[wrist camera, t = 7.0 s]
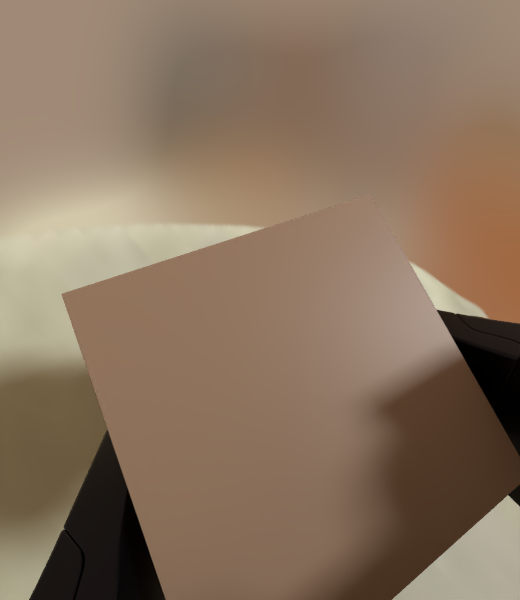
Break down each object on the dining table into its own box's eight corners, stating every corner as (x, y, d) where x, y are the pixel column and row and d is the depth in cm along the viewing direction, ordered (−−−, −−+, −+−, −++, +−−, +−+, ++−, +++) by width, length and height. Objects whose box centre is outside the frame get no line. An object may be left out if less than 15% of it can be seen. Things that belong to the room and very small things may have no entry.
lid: (379, 429, 10) (530, 474, 6) (207, 541, 8) (219, 754, 4) (298, 267, 11) (368, 190, 7) (129, 332, 9) (60, 288, 5)
